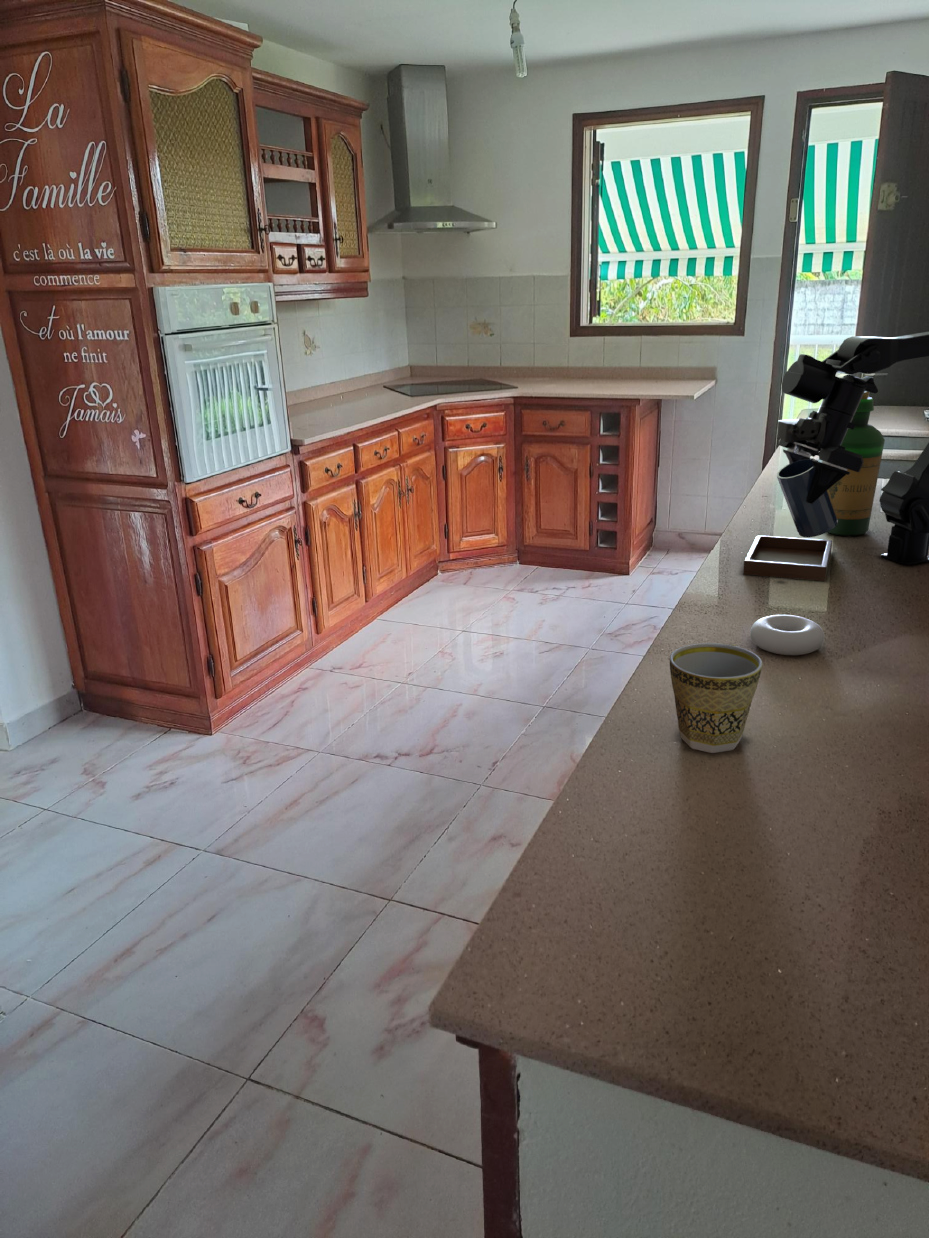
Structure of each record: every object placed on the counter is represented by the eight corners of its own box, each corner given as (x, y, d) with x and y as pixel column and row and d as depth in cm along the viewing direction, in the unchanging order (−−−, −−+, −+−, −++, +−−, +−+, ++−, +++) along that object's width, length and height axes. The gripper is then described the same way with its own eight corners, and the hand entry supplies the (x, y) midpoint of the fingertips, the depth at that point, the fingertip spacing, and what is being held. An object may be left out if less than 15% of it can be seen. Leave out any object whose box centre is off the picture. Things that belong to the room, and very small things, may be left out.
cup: (836, 513, 158) (815, 454, 153) (839, 529, 152) (817, 469, 148) (798, 525, 161) (776, 467, 156) (799, 541, 155) (776, 482, 151)
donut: (824, 662, 120) (822, 635, 129) (826, 639, 119) (824, 613, 128) (747, 656, 124) (750, 629, 132) (749, 633, 122) (752, 608, 131)
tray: (756, 548, 172) (757, 535, 171) (830, 553, 166) (832, 540, 166) (743, 574, 157) (744, 560, 156) (824, 581, 152) (826, 567, 151)
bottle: (816, 536, 177) (830, 394, 167) (817, 523, 186) (831, 388, 177) (873, 540, 173) (892, 394, 164) (872, 526, 183) (889, 388, 173)
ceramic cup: (741, 768, 95) (748, 684, 92) (653, 747, 100) (656, 667, 97) (772, 719, 105) (779, 642, 102) (690, 703, 110) (694, 629, 107)
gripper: (770, 391, 157) (736, 475, 161) (823, 404, 139) (783, 497, 144) (824, 410, 159) (789, 492, 164) (883, 424, 142) (841, 515, 146)
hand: (799, 498), depth 154 cm, fingers closed on cup, 7 cm apart
